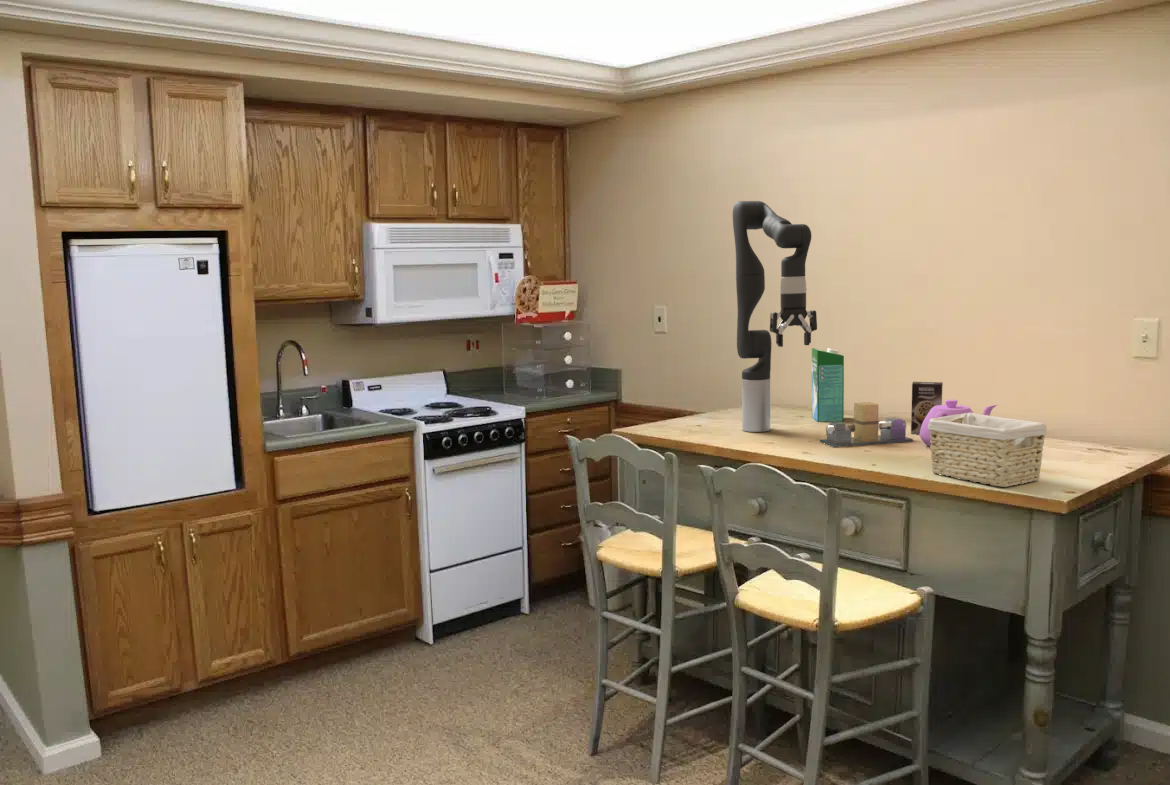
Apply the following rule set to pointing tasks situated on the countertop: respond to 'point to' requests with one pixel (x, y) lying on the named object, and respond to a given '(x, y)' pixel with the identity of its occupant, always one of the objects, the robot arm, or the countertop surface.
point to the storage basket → (987, 448)
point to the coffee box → (924, 402)
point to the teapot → (945, 411)
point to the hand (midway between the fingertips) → (793, 345)
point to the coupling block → (866, 421)
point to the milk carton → (827, 385)
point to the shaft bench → (889, 433)
